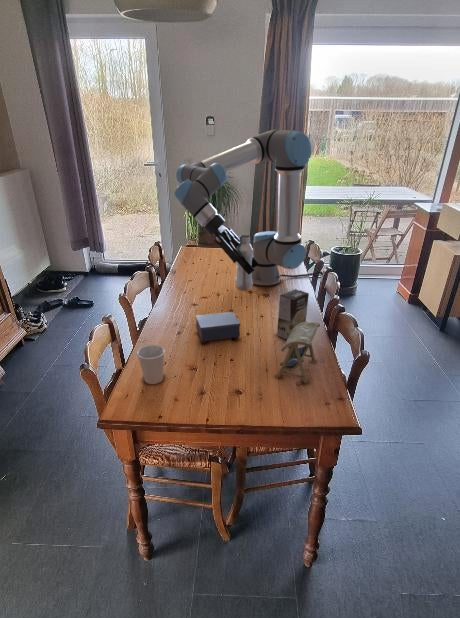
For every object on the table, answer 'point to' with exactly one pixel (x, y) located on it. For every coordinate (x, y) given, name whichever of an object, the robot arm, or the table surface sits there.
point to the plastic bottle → (242, 277)
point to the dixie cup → (151, 363)
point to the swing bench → (297, 354)
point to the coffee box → (291, 311)
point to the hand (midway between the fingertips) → (253, 269)
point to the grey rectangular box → (218, 326)
